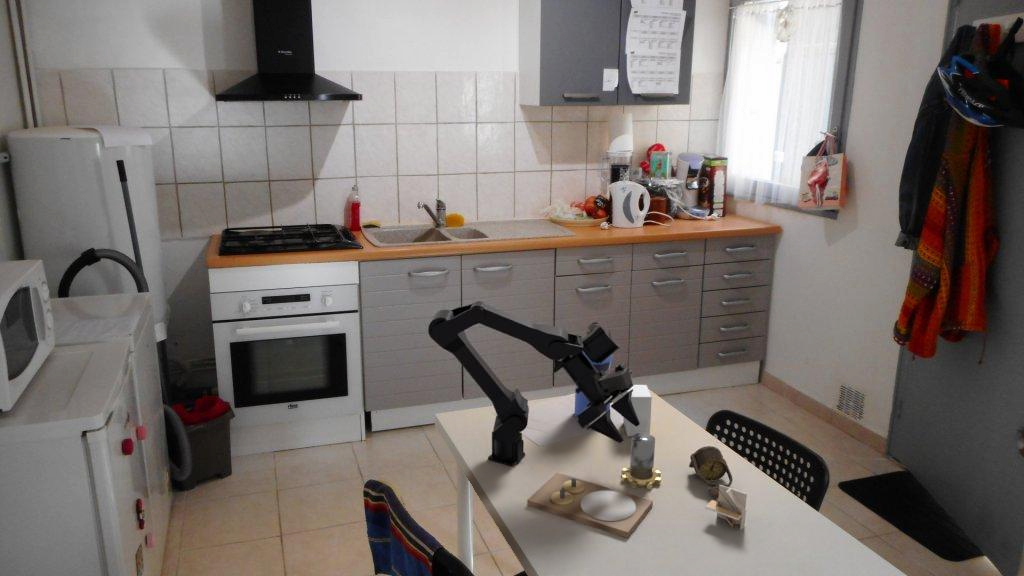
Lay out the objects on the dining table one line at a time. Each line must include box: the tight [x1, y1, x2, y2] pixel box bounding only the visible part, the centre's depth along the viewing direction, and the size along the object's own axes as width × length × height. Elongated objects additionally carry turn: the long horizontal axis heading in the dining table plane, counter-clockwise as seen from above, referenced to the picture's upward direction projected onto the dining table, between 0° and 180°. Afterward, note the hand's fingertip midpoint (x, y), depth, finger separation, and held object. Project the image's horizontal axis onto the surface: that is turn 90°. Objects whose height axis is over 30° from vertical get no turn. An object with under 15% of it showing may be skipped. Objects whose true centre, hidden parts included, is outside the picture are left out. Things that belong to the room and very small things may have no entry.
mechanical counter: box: [688, 445, 733, 499], centre depth 161 cm, size 7×13×10 cm
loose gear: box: [621, 433, 662, 490], centre depth 163 cm, size 9×9×10 cm
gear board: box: [526, 472, 654, 539], centre depth 153 cm, size 22×13×3 cm, turn 59°
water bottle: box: [574, 321, 614, 419], centre depth 192 cm, size 9×9×25 cm
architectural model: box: [705, 484, 748, 531], centre depth 147 cm, size 3×7×8 cm, turn 52°
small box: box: [623, 384, 653, 437], centre depth 186 cm, size 8×6×10 cm
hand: (630, 433), depth 163 cm, fingers open, 9 cm apart
